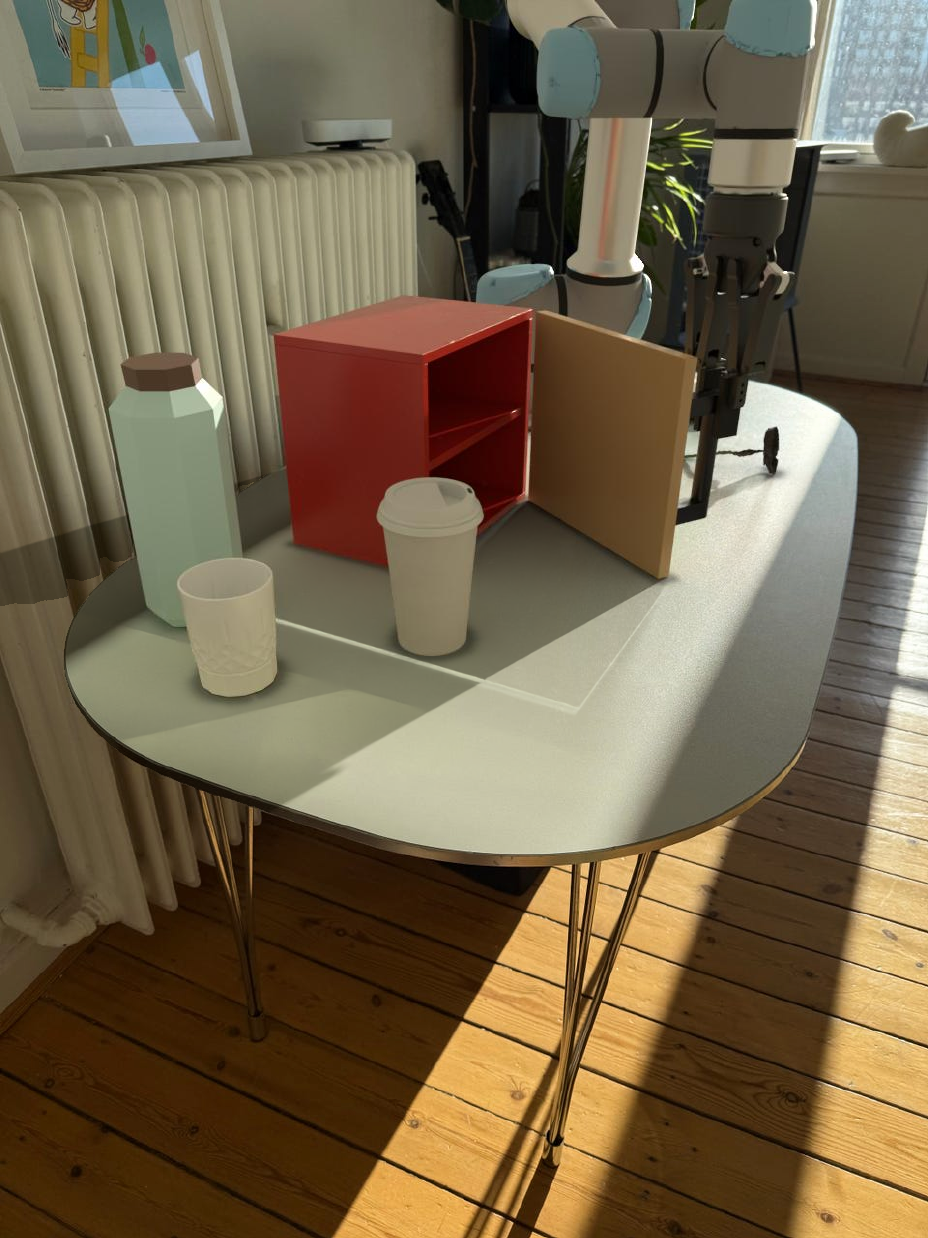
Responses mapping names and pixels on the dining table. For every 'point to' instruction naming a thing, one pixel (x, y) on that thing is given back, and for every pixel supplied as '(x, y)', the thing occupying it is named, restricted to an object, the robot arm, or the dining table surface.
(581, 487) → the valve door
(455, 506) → the coffee cup
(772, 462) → the artificial flower
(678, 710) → the dining table surface
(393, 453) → the cabinet
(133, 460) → the water bottle
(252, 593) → the white cup
